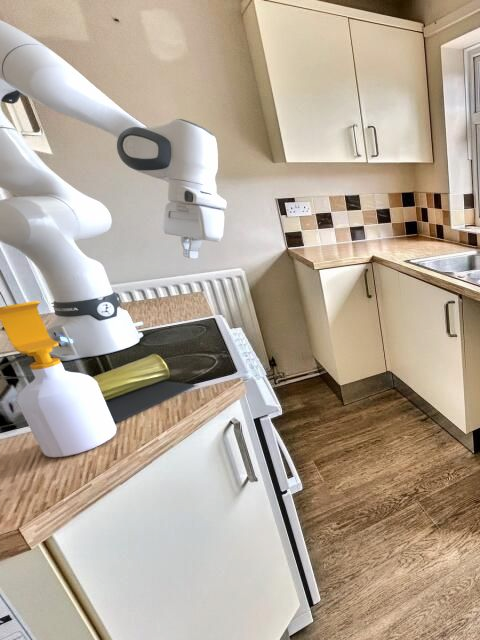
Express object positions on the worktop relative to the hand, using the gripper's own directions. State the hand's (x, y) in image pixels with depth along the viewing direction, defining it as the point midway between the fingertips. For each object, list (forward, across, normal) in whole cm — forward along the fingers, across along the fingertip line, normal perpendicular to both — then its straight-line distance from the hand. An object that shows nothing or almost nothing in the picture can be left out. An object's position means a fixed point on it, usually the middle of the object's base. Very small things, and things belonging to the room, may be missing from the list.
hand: (190, 257), depth 99 cm
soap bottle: (+32, +23, -24) cm, 46 cm away
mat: (+29, +8, -15) cm, 34 cm away
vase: (+24, +6, -8) cm, 26 cm away
